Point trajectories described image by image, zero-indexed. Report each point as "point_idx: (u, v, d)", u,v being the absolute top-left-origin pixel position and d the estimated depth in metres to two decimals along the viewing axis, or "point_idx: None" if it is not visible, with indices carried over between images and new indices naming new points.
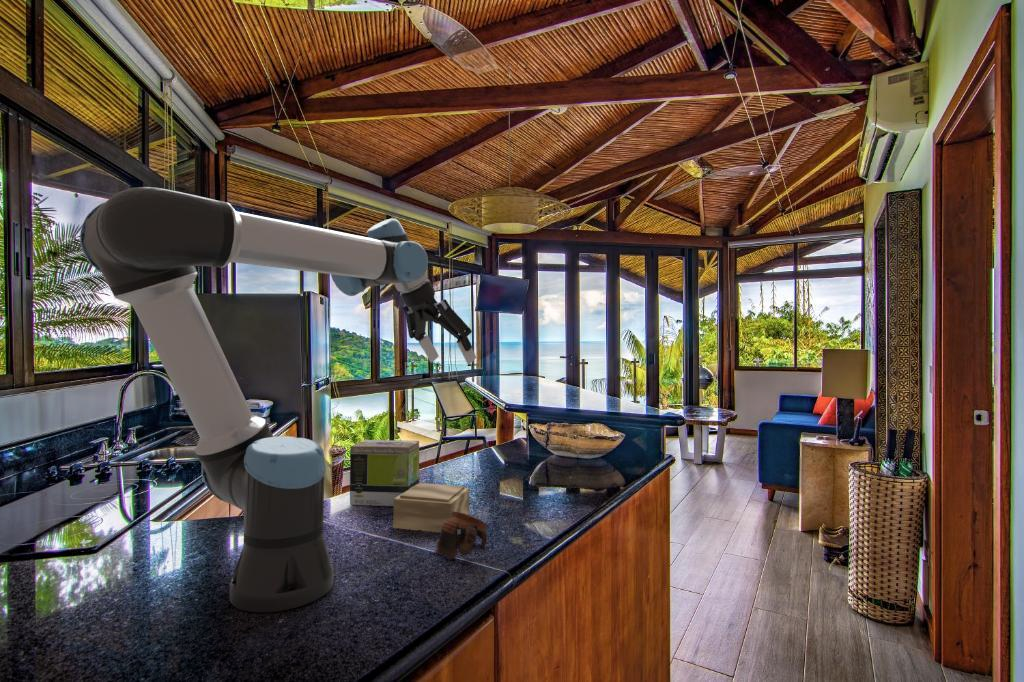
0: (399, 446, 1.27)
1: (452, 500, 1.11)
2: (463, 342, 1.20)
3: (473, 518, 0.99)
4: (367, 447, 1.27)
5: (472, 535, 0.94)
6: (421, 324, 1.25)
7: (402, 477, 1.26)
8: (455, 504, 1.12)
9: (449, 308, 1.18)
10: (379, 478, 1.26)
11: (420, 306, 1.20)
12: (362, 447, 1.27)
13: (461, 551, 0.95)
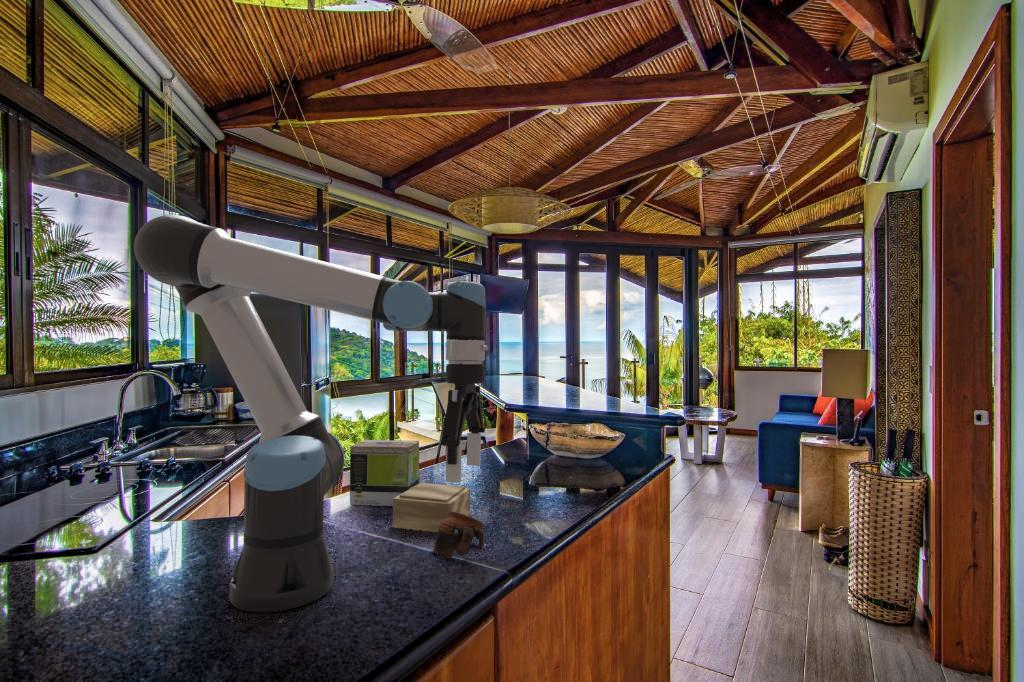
0: (399, 446, 1.27)
1: (451, 500, 1.11)
2: None
3: (470, 518, 0.99)
4: (367, 447, 1.27)
5: (469, 535, 0.94)
6: None
7: (402, 477, 1.26)
8: (454, 504, 1.11)
9: (458, 403, 0.93)
10: (379, 478, 1.26)
11: None
12: (362, 447, 1.27)
13: (458, 551, 0.95)
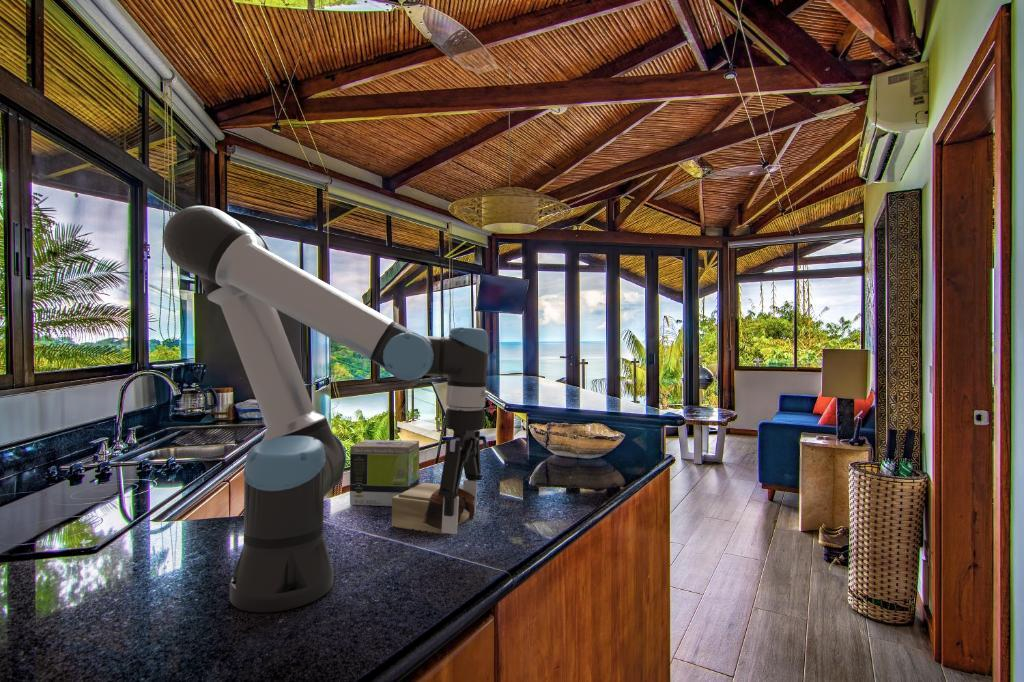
0: (399, 446, 1.27)
1: None
2: None
3: (461, 490, 0.99)
4: (367, 447, 1.27)
5: (460, 506, 0.94)
6: None
7: (402, 477, 1.26)
8: None
9: (455, 453, 0.93)
10: (379, 478, 1.26)
11: None
12: (362, 447, 1.27)
13: None
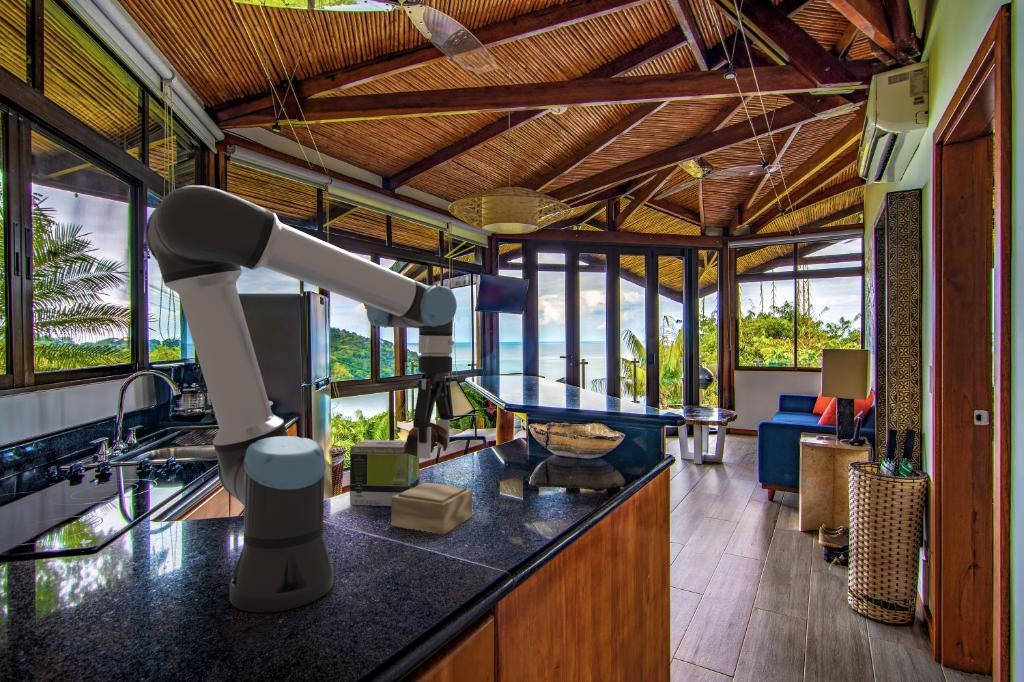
0: (399, 446, 1.27)
1: (447, 501, 1.10)
2: None
3: (435, 424, 1.16)
4: (367, 447, 1.27)
5: (433, 435, 1.12)
6: (437, 400, 1.20)
7: (402, 477, 1.26)
8: (450, 505, 1.11)
9: (426, 390, 1.10)
10: (379, 478, 1.26)
11: None
12: (362, 447, 1.27)
13: None
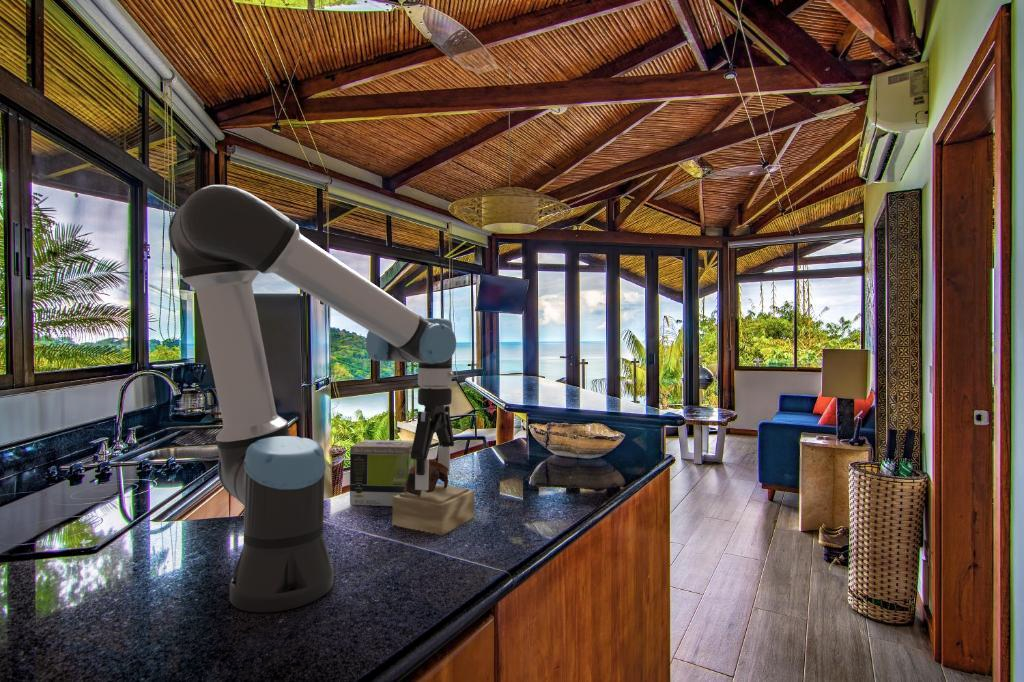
0: (399, 446, 1.27)
1: (446, 502, 1.10)
2: None
3: (436, 462, 1.16)
4: (367, 447, 1.27)
5: (435, 474, 1.11)
6: (437, 430, 1.21)
7: (402, 477, 1.26)
8: (449, 506, 1.10)
9: (425, 422, 1.10)
10: (379, 478, 1.26)
11: None
12: (362, 447, 1.27)
13: None
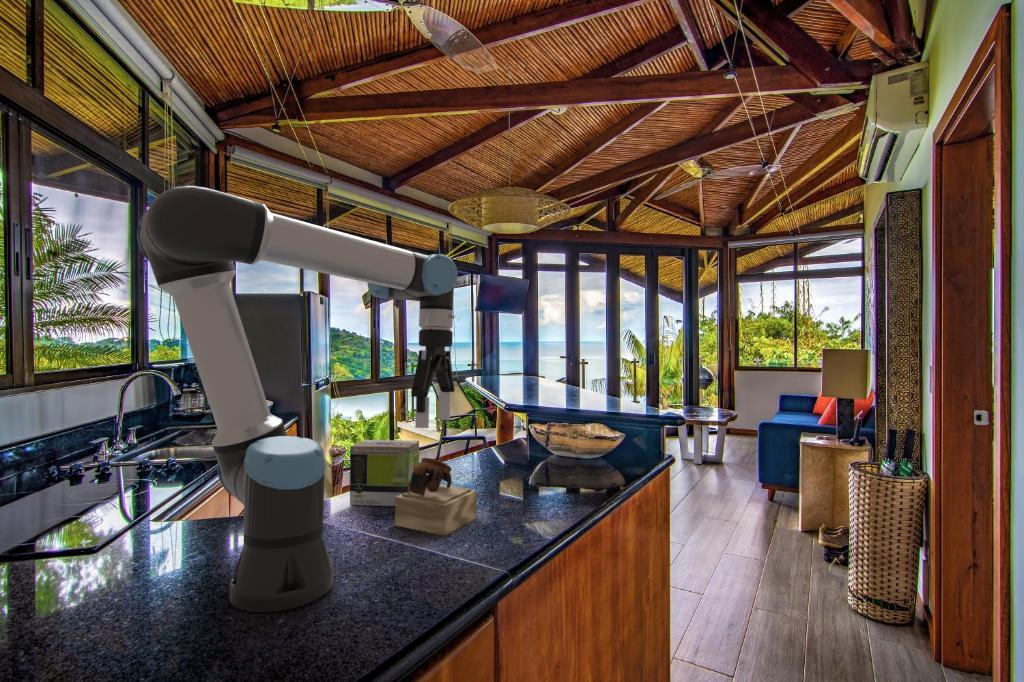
0: (399, 446, 1.27)
1: (449, 502, 1.10)
2: None
3: (440, 462, 1.16)
4: (367, 447, 1.27)
5: (439, 474, 1.11)
6: (437, 373, 1.21)
7: (402, 477, 1.26)
8: (452, 506, 1.10)
9: (426, 360, 1.10)
10: (379, 478, 1.26)
11: None
12: (362, 447, 1.27)
13: (430, 488, 1.12)
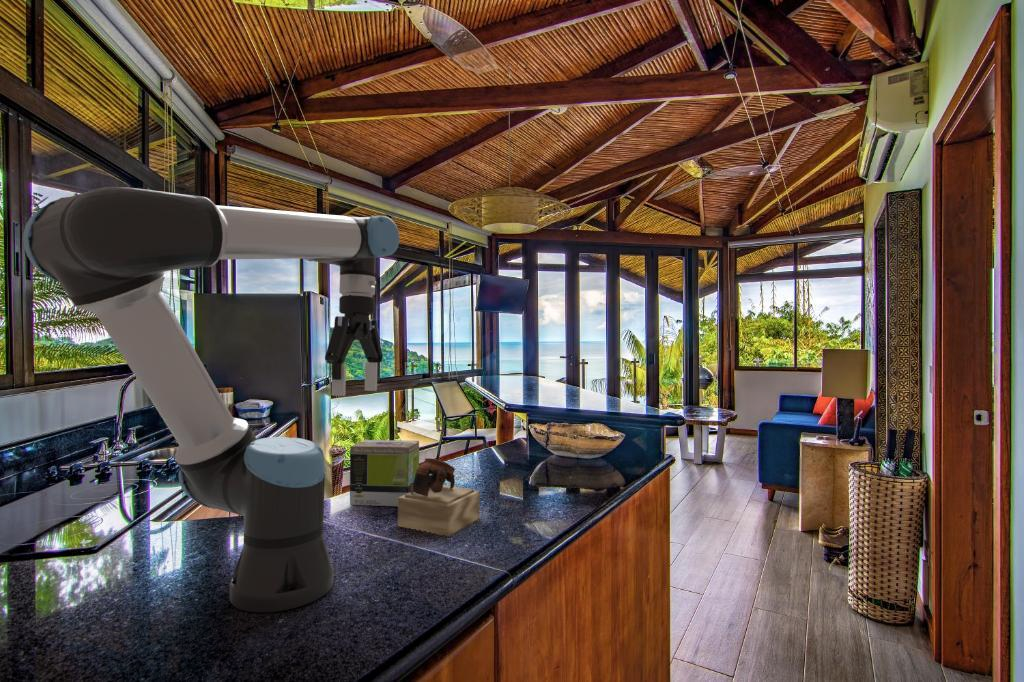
0: (399, 446, 1.27)
1: (452, 503, 1.10)
2: None
3: (443, 462, 1.16)
4: (367, 447, 1.27)
5: (443, 475, 1.11)
6: (362, 343, 1.18)
7: (402, 477, 1.26)
8: (455, 507, 1.10)
9: (342, 326, 1.07)
10: (379, 478, 1.26)
11: None
12: (362, 447, 1.27)
13: (433, 489, 1.12)
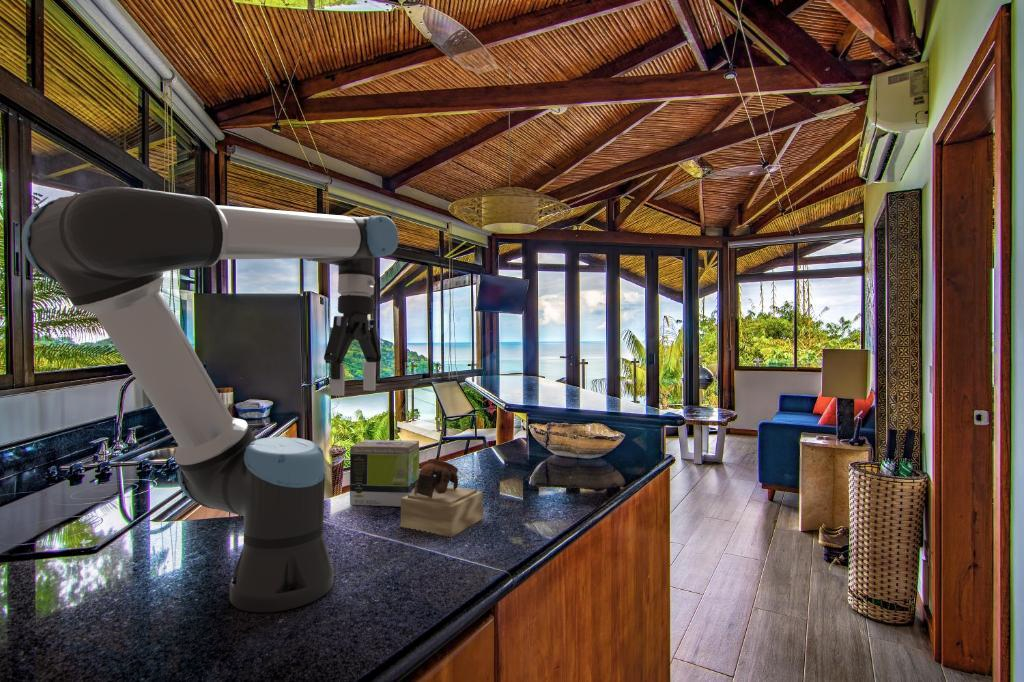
0: (399, 446, 1.27)
1: (455, 503, 1.09)
2: None
3: (447, 463, 1.15)
4: (367, 447, 1.27)
5: (447, 475, 1.11)
6: (361, 342, 1.17)
7: (402, 477, 1.26)
8: (458, 508, 1.09)
9: (341, 326, 1.07)
10: (379, 478, 1.26)
11: None
12: (362, 447, 1.27)
13: (438, 490, 1.11)
